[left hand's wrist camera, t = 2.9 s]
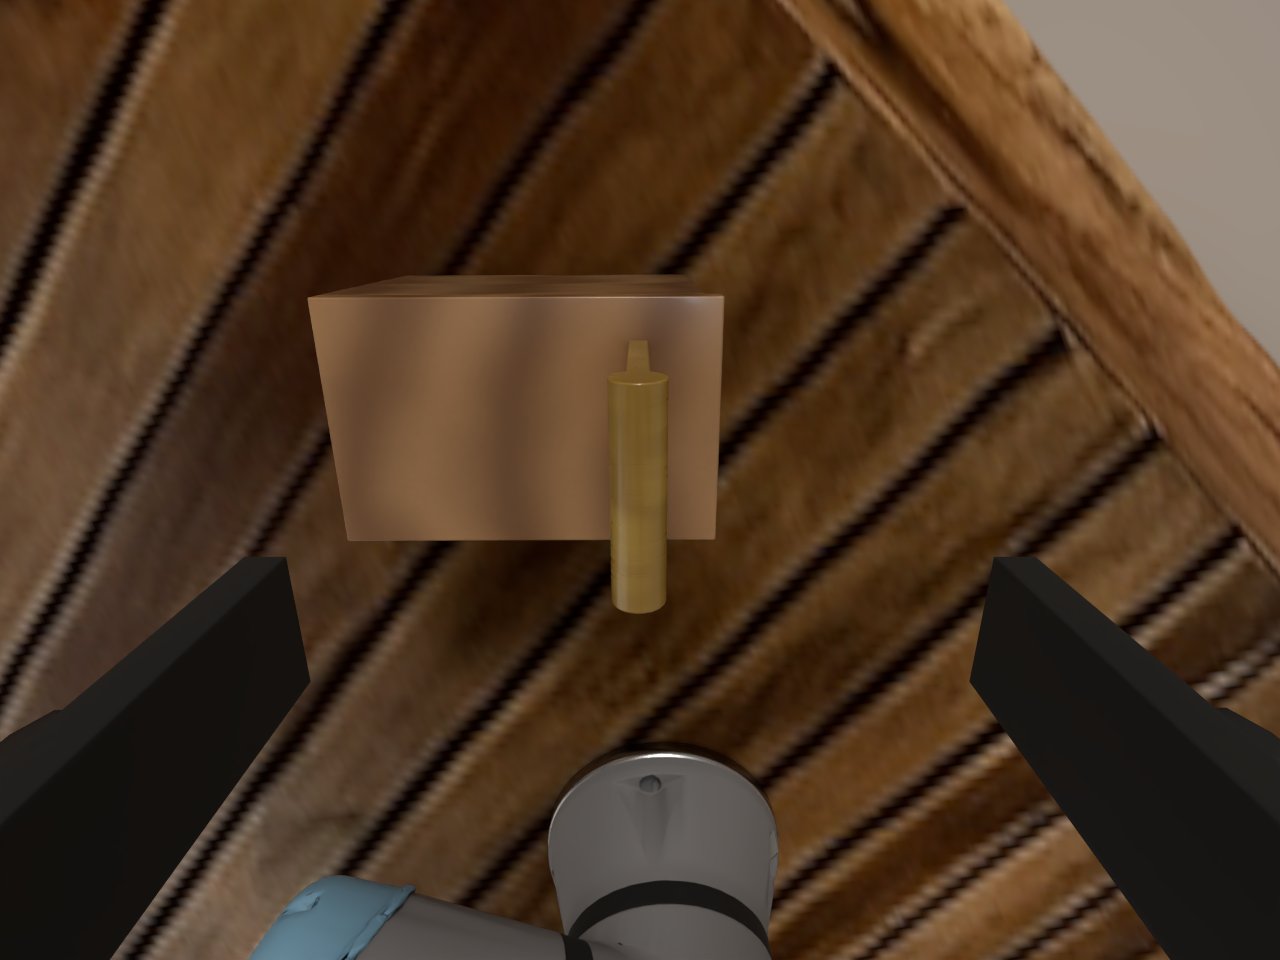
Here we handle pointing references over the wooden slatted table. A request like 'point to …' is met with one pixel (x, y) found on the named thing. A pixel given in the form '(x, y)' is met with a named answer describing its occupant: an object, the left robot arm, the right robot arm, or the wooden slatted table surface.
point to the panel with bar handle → (528, 420)
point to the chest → (527, 285)
